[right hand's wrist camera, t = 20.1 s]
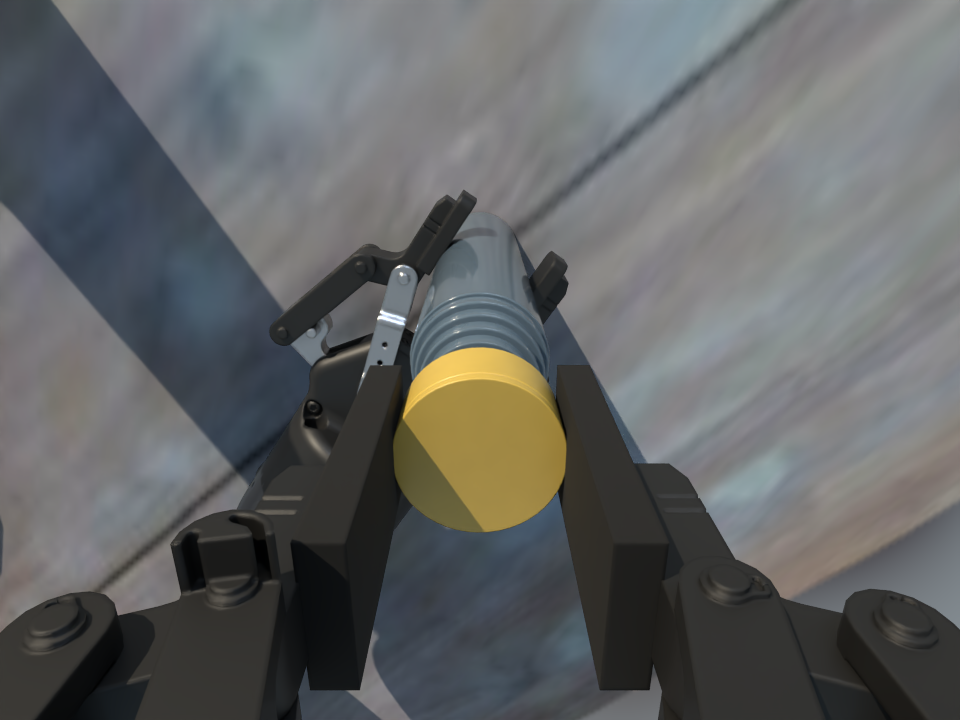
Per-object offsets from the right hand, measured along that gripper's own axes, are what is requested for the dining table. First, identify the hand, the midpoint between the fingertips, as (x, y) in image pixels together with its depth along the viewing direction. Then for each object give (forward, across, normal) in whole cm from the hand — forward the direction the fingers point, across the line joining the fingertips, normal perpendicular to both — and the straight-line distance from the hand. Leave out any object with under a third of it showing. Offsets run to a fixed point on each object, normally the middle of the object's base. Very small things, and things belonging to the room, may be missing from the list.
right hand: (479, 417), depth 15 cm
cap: (-2, 0, 0) cm, 2 cm away
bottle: (+21, 0, 0) cm, 21 cm away
